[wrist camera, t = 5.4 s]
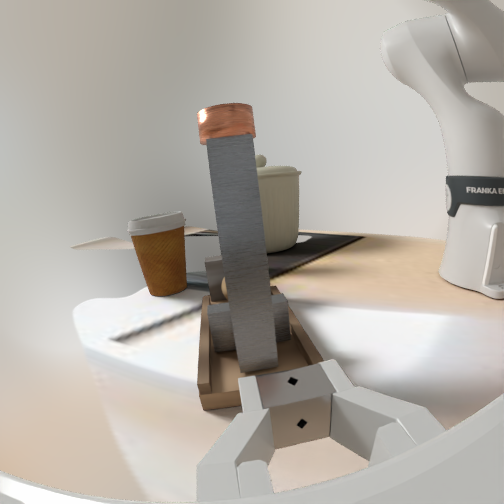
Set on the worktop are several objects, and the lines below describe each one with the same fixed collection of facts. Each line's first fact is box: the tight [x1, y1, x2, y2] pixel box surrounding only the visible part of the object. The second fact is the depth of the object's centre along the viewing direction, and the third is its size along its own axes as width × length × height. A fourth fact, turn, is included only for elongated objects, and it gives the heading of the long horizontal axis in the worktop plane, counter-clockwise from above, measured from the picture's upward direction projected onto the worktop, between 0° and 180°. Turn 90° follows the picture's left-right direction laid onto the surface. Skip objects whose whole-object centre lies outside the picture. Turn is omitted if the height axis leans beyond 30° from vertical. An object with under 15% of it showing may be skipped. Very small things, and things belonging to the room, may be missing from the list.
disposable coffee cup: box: [127, 212, 187, 296], centre depth 46 cm, size 10×10×12 cm
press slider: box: [197, 103, 291, 373], centre depth 21 cm, size 6×6×18 cm
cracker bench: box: [197, 255, 324, 410], centre depth 28 cm, size 20×9×6 cm, turn 7°
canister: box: [255, 155, 301, 253], centre depth 65 cm, size 18×18×21 cm
